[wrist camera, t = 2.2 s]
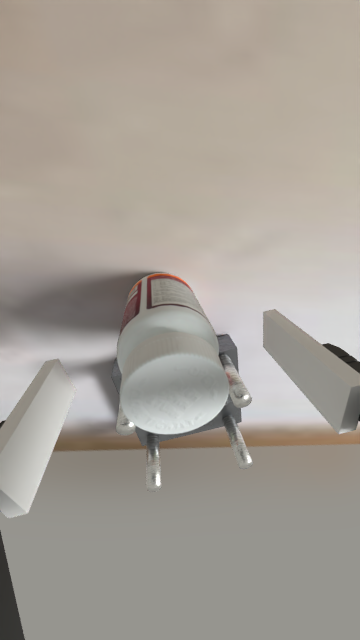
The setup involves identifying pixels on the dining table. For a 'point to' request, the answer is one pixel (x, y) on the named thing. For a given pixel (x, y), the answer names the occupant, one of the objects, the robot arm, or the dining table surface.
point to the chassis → (225, 417)
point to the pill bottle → (168, 358)
